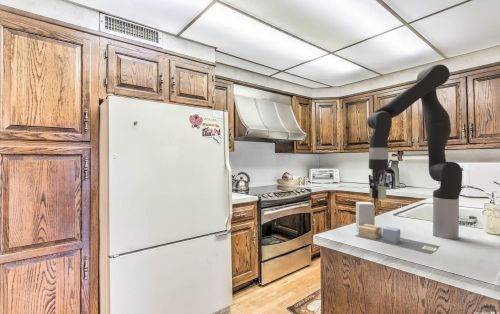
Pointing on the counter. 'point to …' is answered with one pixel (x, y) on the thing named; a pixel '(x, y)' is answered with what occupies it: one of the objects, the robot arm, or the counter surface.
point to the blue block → (391, 234)
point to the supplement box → (365, 213)
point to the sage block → (380, 192)
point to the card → (429, 248)
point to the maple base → (370, 231)
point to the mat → (405, 244)
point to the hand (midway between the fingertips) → (377, 197)
